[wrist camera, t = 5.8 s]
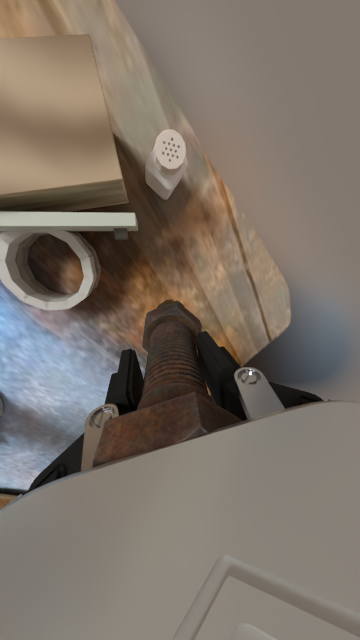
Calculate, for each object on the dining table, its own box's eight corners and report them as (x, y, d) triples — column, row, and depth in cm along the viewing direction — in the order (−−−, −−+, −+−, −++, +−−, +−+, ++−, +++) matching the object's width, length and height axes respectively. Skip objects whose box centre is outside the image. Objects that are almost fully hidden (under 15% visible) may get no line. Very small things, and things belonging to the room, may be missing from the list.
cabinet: (149, 285, 32) (151, 305, 22) (39, 306, 30) (-19, 340, 20) (114, 129, 24) (89, 34, 13) (-41, 145, 22) (-218, 49, 11)
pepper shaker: (143, 182, 27) (142, 151, 18) (159, 156, 26) (167, 111, 17) (165, 202, 28) (174, 183, 19) (181, 179, 27) (198, 148, 19)
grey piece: (144, 300, 30) (144, 317, 23) (22, 308, 27) (-20, 329, 20) (137, 221, 26) (134, 212, 19) (-10, 221, 23) (-77, 210, 16)
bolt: (207, 311, 19) (311, 496, 5) (176, 344, 20) (197, 557, 7) (163, 275, 17) (150, 417, 4) (132, 314, 19) (39, 523, 5)
